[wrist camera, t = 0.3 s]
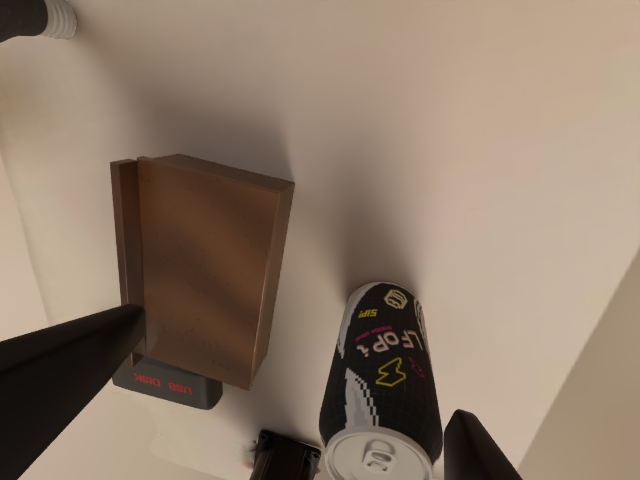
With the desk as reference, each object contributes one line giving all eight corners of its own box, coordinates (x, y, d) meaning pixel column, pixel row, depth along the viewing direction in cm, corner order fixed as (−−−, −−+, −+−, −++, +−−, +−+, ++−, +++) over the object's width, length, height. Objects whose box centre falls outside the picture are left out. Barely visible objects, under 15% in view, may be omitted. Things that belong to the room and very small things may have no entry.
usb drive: (223, 394, 31) (208, 418, 29) (119, 367, 33) (97, 388, 31) (221, 354, 29) (205, 376, 27) (111, 328, 31) (86, 346, 29)
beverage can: (431, 286, 22) (470, 449, 11) (411, 347, 25) (427, 532, 14) (353, 268, 23) (320, 405, 12) (340, 329, 25) (302, 490, 15)
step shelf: (267, 355, 28) (240, 407, 23) (171, 324, 29) (125, 367, 24) (297, 180, 22) (268, 199, 17) (171, 148, 23) (108, 158, 18)
